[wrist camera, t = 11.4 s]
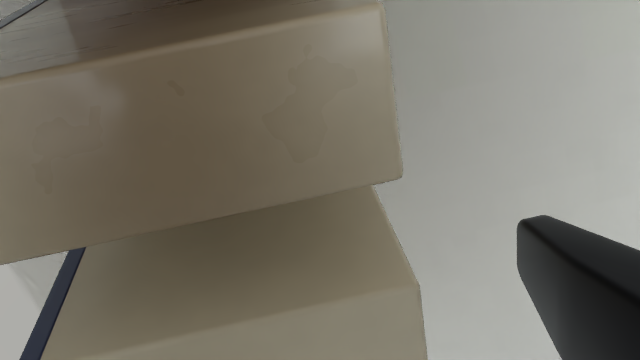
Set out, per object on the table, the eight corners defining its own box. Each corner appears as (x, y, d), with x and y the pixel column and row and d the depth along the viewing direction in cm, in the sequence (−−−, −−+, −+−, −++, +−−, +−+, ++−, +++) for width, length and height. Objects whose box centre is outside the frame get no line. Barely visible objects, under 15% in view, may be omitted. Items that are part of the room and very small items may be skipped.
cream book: (149, 199, 15) (73, 478, 8) (123, 128, 14) (11, 375, 7) (340, 157, 15) (433, 394, 8) (328, 85, 14) (421, 283, 7)
